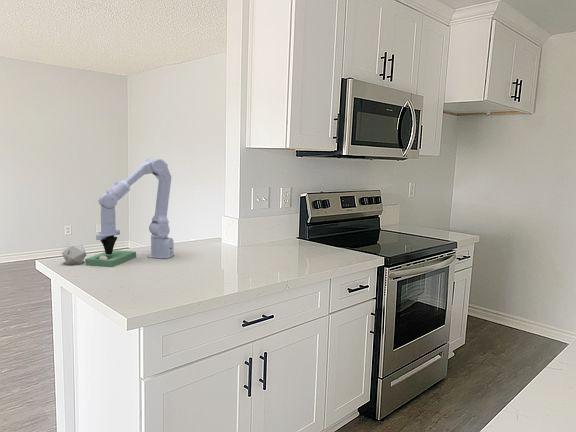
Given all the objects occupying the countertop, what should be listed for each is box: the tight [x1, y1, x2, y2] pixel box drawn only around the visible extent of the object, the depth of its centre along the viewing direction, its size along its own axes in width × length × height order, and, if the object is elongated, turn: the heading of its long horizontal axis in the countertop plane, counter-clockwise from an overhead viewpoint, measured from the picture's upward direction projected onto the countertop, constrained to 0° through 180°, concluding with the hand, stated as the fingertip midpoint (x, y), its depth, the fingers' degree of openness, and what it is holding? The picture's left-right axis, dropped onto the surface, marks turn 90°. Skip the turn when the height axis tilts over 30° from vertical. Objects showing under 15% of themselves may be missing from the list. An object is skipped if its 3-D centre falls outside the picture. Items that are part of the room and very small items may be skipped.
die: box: [61, 243, 87, 265], centre depth 189 cm, size 8×9×10 cm
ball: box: [99, 255, 108, 260], centre depth 189 cm, size 4×4×4 cm
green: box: [84, 249, 137, 268], centre depth 195 cm, size 12×19×2 cm, turn 169°
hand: (108, 254), depth 192 cm, fingers closed
